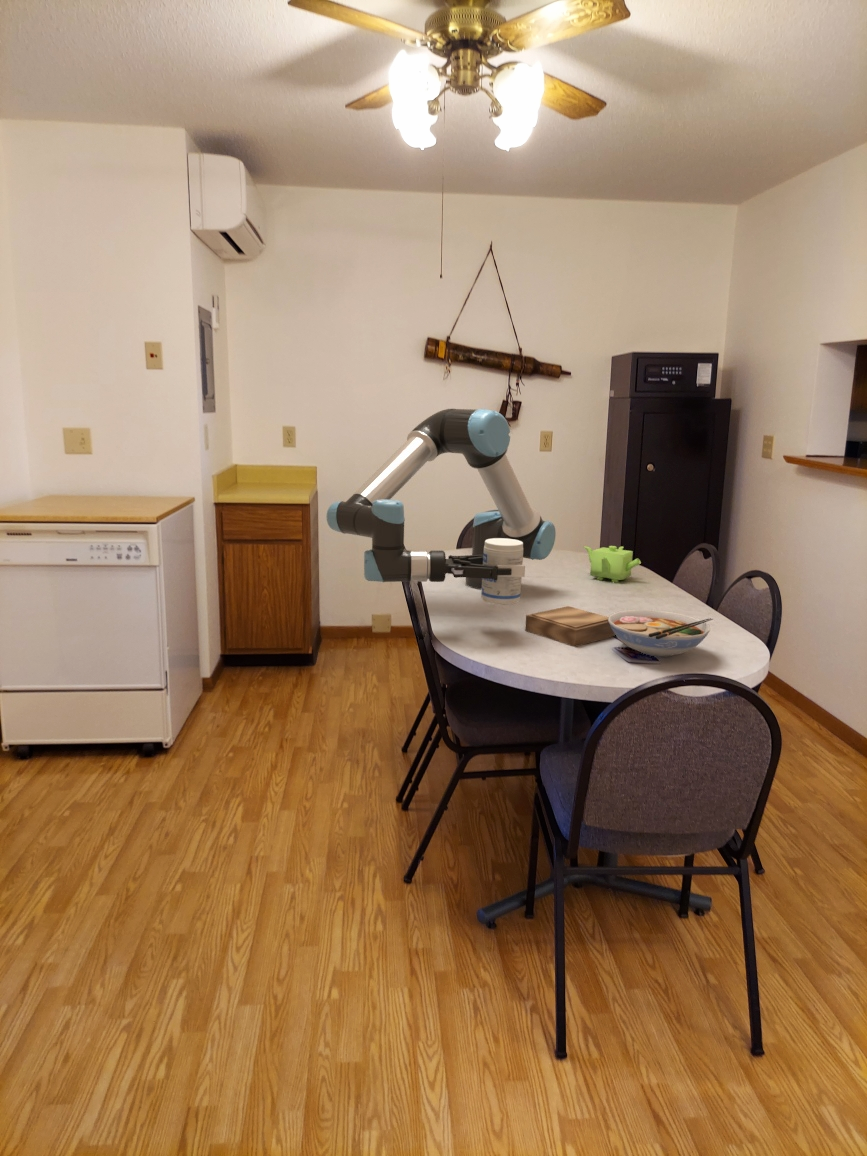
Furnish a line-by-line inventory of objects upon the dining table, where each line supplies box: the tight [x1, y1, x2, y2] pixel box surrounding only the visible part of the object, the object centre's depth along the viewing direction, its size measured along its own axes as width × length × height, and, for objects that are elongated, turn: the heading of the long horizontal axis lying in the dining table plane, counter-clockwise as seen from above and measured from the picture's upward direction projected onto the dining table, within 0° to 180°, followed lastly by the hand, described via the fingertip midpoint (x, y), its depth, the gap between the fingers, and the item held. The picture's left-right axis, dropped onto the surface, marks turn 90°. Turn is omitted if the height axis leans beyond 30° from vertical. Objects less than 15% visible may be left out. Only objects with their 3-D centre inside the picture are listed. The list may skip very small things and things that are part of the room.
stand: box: [524, 605, 615, 647], centre depth 192 cm, size 16×16×4 cm
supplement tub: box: [480, 538, 524, 606], centre depth 187 cm, size 10×10×15 cm
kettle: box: [582, 545, 642, 584], centre depth 254 cm, size 15×14×11 cm
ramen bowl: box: [608, 609, 714, 658], centre depth 178 cm, size 25×23×8 cm
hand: (520, 566), depth 187 cm, fingers closed on supplement tub, 9 cm apart
